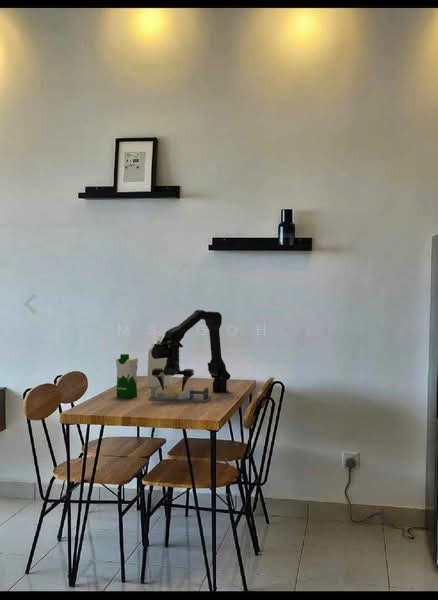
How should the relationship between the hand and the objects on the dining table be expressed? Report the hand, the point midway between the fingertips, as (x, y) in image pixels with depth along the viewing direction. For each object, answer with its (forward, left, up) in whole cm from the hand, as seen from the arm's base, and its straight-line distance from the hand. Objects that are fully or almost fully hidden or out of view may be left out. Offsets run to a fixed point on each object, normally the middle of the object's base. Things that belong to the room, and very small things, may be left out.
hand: (172, 390), depth 285 cm
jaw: (-12, 0, -2) cm, 12 cm away
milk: (+15, -34, -4) cm, 37 cm away
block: (0, 0, -2) cm, 2 cm away
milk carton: (+22, 0, -4) cm, 22 cm away
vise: (-3, 0, -4) cm, 5 cm away
